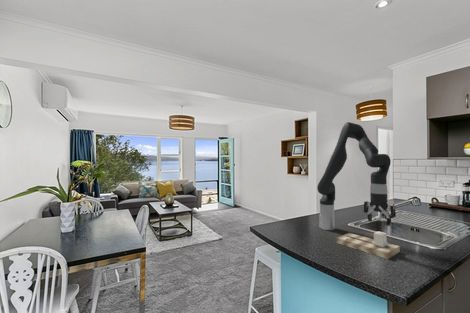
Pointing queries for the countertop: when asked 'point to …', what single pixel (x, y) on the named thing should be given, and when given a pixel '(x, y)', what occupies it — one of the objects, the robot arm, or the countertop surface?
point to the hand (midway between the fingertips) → (379, 223)
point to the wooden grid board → (368, 245)
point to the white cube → (380, 239)
